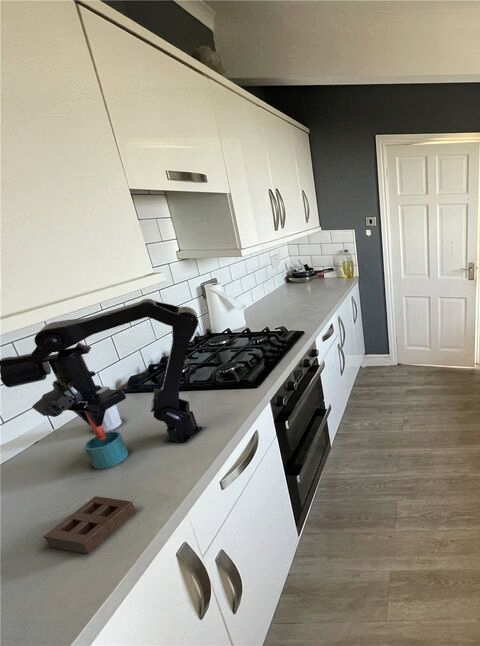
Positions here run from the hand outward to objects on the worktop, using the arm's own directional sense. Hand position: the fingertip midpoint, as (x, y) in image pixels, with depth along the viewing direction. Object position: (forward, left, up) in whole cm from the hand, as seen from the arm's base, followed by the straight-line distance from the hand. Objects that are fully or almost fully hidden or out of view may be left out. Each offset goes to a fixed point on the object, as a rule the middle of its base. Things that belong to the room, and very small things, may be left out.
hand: (96, 425), depth 90 cm
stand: (+18, +18, -11) cm, 28 cm away
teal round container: (0, 0, -11) cm, 11 cm away
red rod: (0, 0, -5) cm, 5 cm away
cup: (-12, -16, -11) cm, 23 cm away
